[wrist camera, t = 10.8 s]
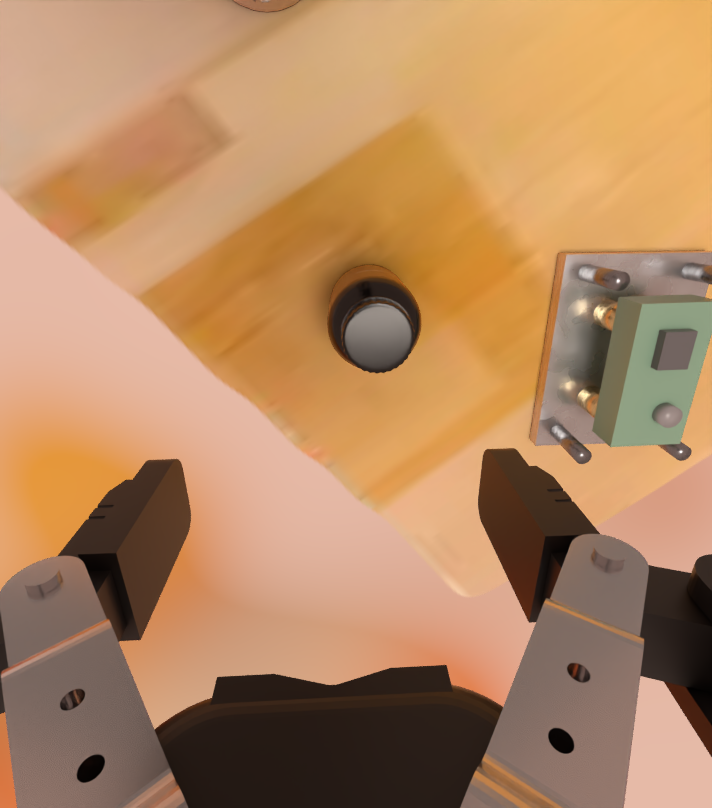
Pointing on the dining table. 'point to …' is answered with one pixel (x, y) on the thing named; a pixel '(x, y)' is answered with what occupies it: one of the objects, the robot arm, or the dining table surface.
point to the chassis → (599, 335)
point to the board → (652, 369)
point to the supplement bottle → (373, 319)
